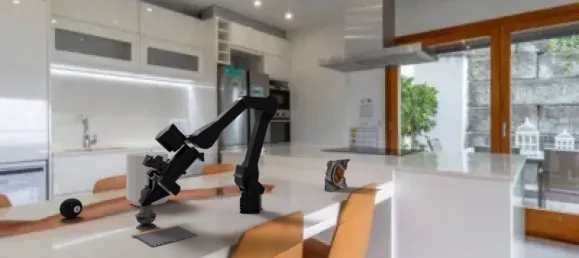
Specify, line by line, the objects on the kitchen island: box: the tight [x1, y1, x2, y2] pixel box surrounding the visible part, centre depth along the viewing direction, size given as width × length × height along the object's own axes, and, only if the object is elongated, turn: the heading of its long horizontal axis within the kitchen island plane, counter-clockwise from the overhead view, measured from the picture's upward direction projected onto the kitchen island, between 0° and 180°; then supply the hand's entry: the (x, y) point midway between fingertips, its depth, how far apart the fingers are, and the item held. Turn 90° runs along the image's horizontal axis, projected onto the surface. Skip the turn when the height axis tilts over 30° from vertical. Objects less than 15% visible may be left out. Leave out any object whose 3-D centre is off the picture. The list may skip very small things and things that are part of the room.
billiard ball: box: [58, 197, 83, 219], centre depth 111 cm, size 6×6×6 cm
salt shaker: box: [134, 185, 158, 231], centre depth 102 cm, size 6×6×12 cm
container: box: [125, 151, 169, 207], centre depth 134 cm, size 14×14×18 cm
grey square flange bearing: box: [324, 158, 351, 193], centre depth 159 cm, size 15×4×13 cm, turn 142°
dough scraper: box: [130, 224, 198, 247], centre depth 94 cm, size 11×13×1 cm
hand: (140, 204), depth 101 cm, fingers closed on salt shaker, 4 cm apart
